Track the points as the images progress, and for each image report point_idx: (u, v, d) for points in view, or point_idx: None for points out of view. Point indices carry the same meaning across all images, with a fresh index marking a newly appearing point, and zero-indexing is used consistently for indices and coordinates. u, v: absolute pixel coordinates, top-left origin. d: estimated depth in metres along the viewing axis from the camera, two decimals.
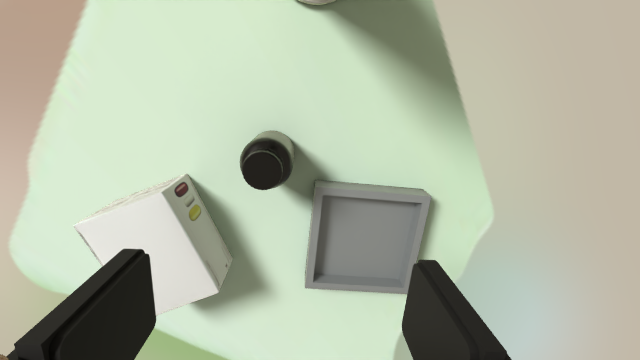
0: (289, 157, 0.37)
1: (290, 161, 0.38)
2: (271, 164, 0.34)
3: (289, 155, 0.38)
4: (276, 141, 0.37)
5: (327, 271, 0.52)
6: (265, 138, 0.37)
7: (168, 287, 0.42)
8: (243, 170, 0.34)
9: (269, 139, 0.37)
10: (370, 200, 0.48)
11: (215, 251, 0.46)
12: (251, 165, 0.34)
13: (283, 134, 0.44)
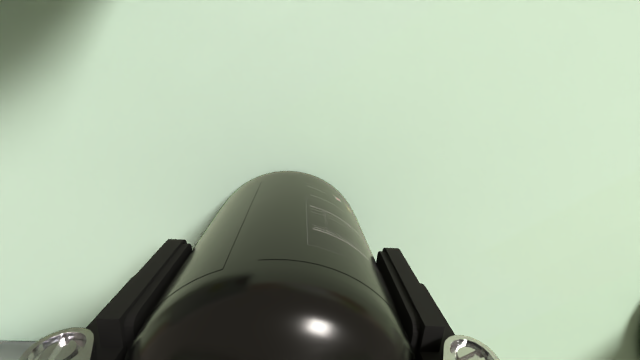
0: None
1: None
2: None
3: None
4: None
5: None
6: None
7: None
8: None
9: None
10: None
11: None
12: None
13: None
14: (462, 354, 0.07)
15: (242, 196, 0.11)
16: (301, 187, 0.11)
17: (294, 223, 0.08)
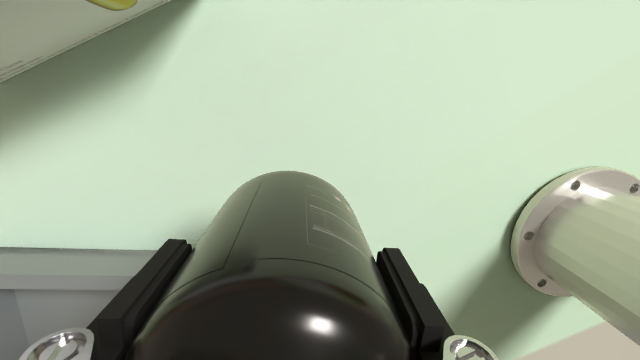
0: None
1: None
2: None
3: None
4: None
5: (23, 295, 0.24)
6: None
7: None
8: None
9: None
10: None
11: None
12: None
13: None
14: (462, 354, 0.07)
15: (242, 196, 0.11)
16: (301, 187, 0.11)
17: (294, 222, 0.08)
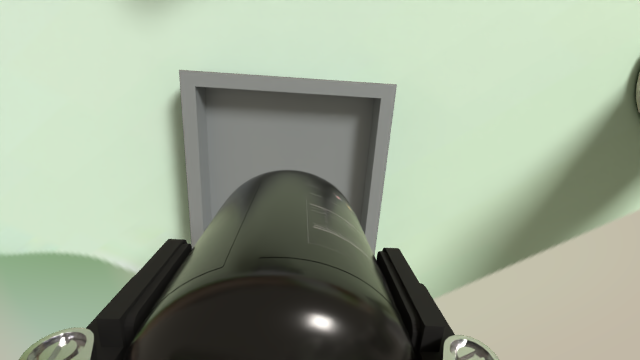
0: None
1: None
2: None
3: None
4: None
5: (212, 116, 0.28)
6: None
7: None
8: None
9: None
10: (353, 179, 0.30)
11: None
12: None
13: None
14: (462, 354, 0.07)
15: (242, 195, 0.11)
16: (301, 186, 0.11)
17: (295, 221, 0.08)
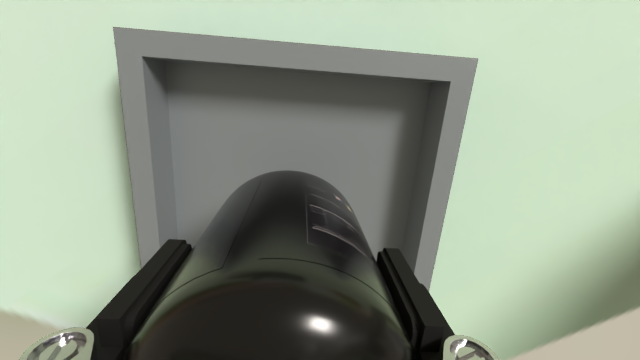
0: None
1: None
2: None
3: None
4: None
5: (178, 108, 0.18)
6: None
7: None
8: None
9: None
10: (392, 206, 0.20)
11: None
12: None
13: None
14: (462, 354, 0.07)
15: (242, 195, 0.11)
16: (301, 186, 0.11)
17: (294, 221, 0.08)
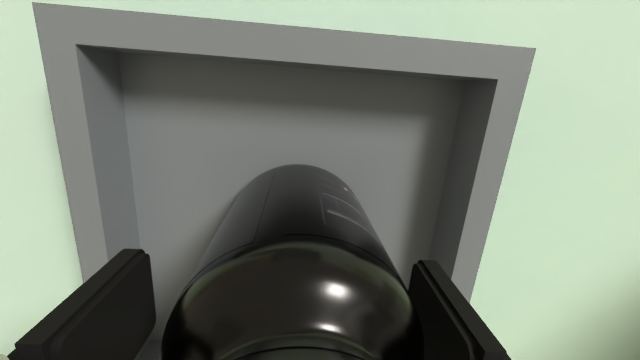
0: None
1: None
2: None
3: None
4: None
5: (138, 114, 0.14)
6: None
7: None
8: None
9: None
10: (412, 235, 0.16)
11: None
12: None
13: None
14: None
15: (258, 186, 0.12)
16: (312, 178, 0.12)
17: (311, 206, 0.09)
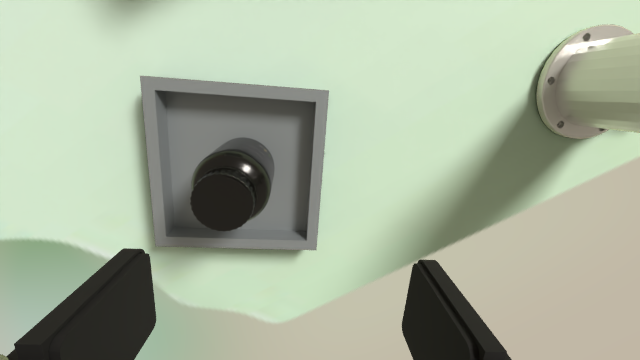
0: None
1: None
2: (234, 216, 0.23)
3: (247, 220, 0.26)
4: (266, 202, 0.26)
5: (172, 115, 0.32)
6: (269, 187, 0.26)
7: None
8: (219, 175, 0.22)
9: (268, 193, 0.26)
10: (299, 172, 0.34)
11: None
12: (229, 187, 0.22)
13: None
14: None
15: (223, 144, 0.30)
16: (245, 140, 0.30)
17: (238, 145, 0.27)
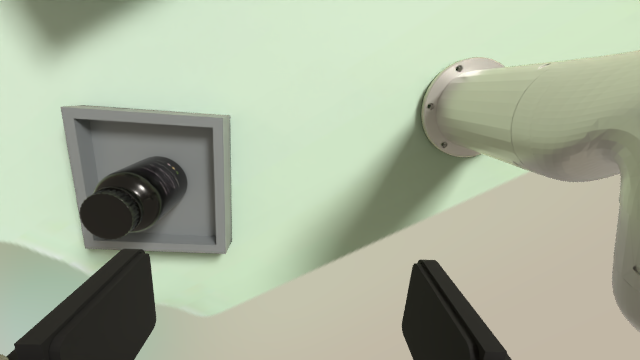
0: (140, 230, 0.32)
1: None
2: (117, 227, 0.28)
3: (143, 229, 0.32)
4: (158, 215, 0.31)
5: (96, 137, 0.37)
6: (159, 202, 0.31)
7: None
8: (101, 195, 0.27)
9: (159, 207, 0.31)
10: (211, 185, 0.40)
11: None
12: (110, 204, 0.27)
13: (183, 195, 0.38)
14: None
15: (135, 163, 0.35)
16: (154, 160, 0.35)
17: (138, 166, 0.32)
